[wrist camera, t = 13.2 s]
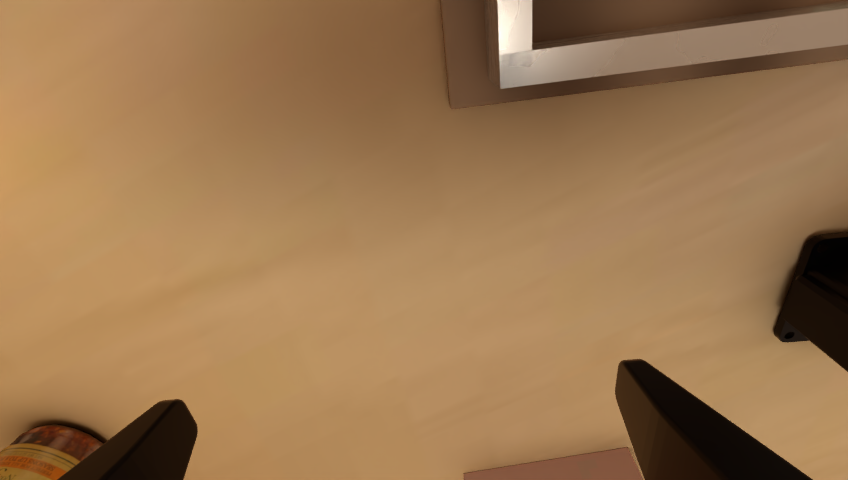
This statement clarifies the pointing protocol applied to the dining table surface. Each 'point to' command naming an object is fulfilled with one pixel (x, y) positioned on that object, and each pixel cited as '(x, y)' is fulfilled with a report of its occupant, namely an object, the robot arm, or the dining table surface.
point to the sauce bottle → (45, 453)
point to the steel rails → (650, 42)
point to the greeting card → (569, 468)
